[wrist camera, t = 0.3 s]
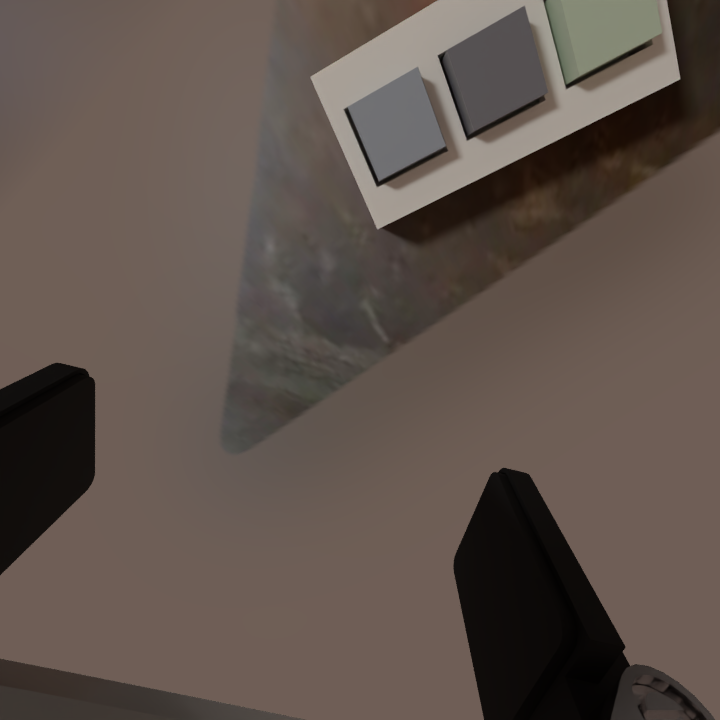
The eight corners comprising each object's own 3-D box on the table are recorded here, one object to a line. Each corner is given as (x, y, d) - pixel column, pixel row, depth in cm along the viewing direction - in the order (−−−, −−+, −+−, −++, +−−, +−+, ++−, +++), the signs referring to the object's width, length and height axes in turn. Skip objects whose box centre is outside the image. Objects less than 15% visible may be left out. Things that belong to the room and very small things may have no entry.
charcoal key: (509, 25, 27) (524, 5, 24) (532, 102, 29) (548, 92, 26) (440, 64, 28) (446, 49, 25) (465, 137, 30) (474, 131, 27)
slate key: (413, 79, 29) (417, 66, 26) (439, 150, 30) (445, 145, 27) (350, 115, 30) (347, 106, 27) (379, 182, 31) (379, 180, 28)
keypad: (608, -80, 27) (645, -125, 23) (643, 94, 30) (680, 79, 27) (318, 91, 31) (310, 77, 28) (377, 226, 35) (377, 229, 31)
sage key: (616, -35, 26) (645, -64, 23) (633, 49, 27) (662, 32, 25) (539, 9, 27) (557, -14, 24) (560, 88, 28) (579, 75, 26)
